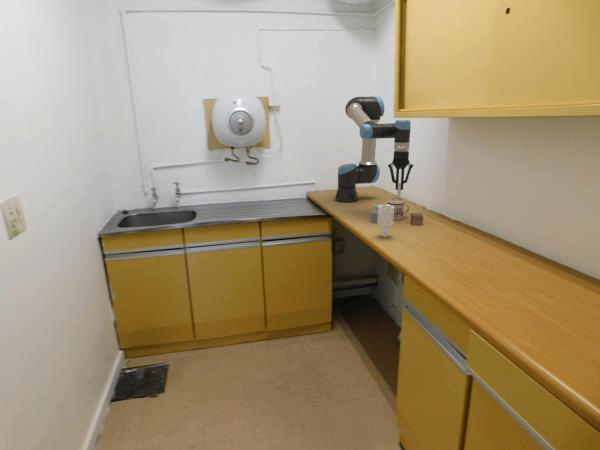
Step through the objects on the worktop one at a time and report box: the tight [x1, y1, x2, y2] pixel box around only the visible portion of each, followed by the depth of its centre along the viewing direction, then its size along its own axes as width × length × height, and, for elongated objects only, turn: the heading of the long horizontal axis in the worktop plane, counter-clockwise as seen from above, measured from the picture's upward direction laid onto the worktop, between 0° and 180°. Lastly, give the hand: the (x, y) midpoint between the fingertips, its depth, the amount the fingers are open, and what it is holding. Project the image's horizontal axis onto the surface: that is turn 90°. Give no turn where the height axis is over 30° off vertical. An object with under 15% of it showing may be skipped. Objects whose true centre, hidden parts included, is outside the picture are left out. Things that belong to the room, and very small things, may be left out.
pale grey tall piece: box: [377, 204, 395, 238], centre depth 169 cm, size 7×7×15 cm
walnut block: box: [409, 212, 424, 226], centre depth 189 cm, size 5×5×5 cm
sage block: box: [372, 204, 386, 212], centre depth 209 cm, size 5×5×5 cm
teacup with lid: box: [386, 196, 410, 221], centre depth 200 cm, size 12×9×12 cm
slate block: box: [369, 210, 378, 224], centre depth 195 cm, size 5×5×5 cm
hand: (398, 195), depth 198 cm, fingers closed
